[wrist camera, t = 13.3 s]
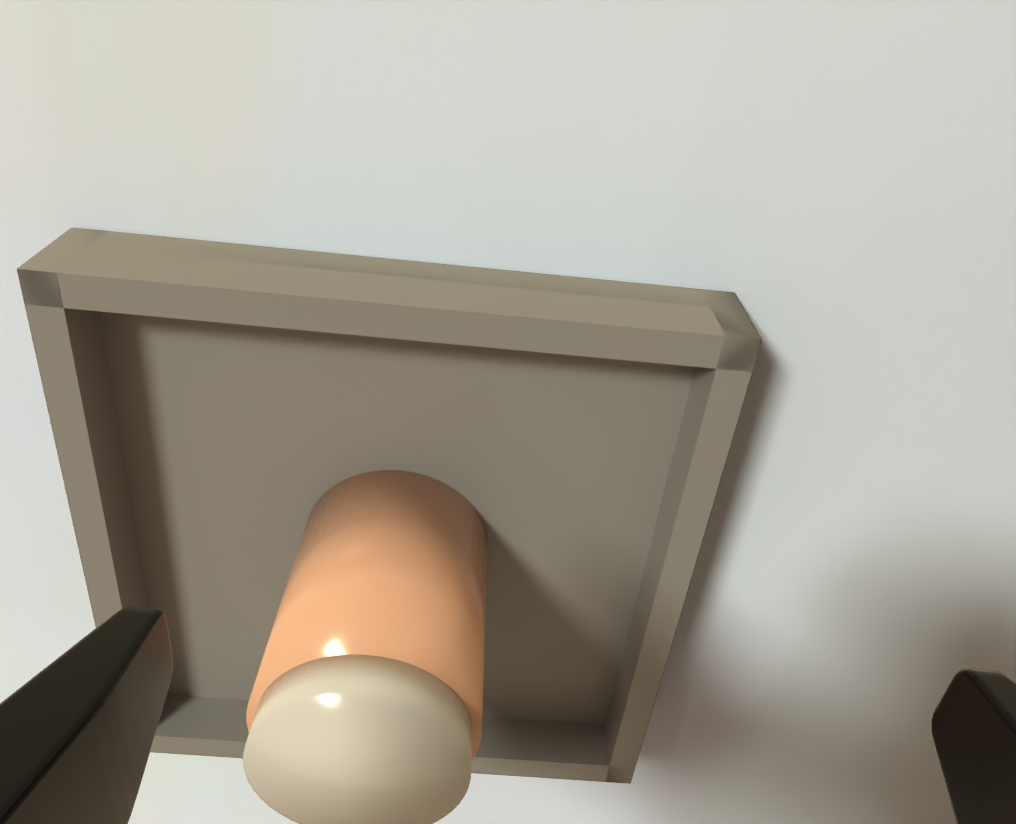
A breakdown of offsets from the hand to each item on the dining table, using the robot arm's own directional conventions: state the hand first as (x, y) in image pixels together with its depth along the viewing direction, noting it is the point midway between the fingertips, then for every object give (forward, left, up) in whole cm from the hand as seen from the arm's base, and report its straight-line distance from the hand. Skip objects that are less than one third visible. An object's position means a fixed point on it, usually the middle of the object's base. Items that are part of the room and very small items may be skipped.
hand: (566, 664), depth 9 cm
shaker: (+3, +8, -11) cm, 14 cm away
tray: (+3, +8, -12) cm, 15 cm away
